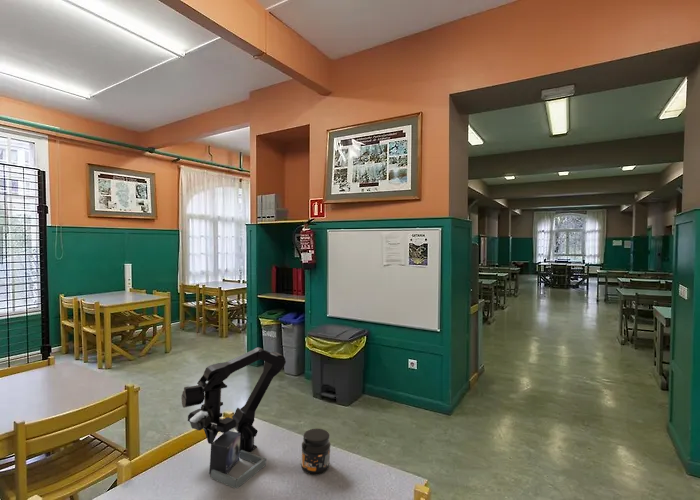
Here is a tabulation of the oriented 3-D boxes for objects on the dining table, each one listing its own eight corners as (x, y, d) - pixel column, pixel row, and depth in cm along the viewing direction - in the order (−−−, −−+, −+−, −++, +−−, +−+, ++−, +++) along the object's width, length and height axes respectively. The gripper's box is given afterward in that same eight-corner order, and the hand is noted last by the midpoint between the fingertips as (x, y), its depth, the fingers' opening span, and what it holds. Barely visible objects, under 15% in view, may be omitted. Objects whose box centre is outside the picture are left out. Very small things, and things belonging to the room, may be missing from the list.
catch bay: (241, 456, 136) (241, 449, 136) (265, 465, 132) (266, 458, 132) (210, 478, 123) (211, 470, 123) (236, 488, 118) (237, 481, 118)
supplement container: (294, 468, 130) (295, 435, 130) (314, 455, 139) (315, 424, 139) (316, 480, 124) (317, 445, 124) (335, 466, 132) (336, 433, 132)
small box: (225, 477, 124) (226, 446, 124) (208, 474, 125) (209, 444, 125) (240, 460, 134) (241, 432, 134) (224, 457, 135) (225, 429, 135)
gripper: (176, 403, 130) (174, 446, 130) (214, 415, 122) (212, 461, 122) (200, 393, 140) (199, 433, 140) (237, 403, 132) (235, 446, 132)
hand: (210, 443), depth 133 cm, fingers closed
